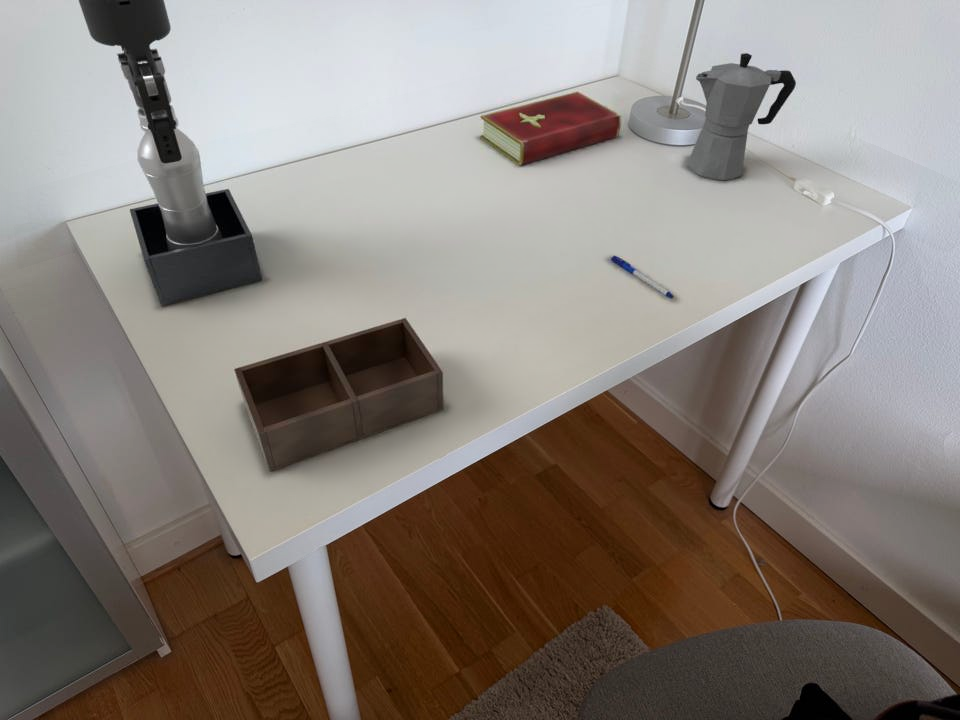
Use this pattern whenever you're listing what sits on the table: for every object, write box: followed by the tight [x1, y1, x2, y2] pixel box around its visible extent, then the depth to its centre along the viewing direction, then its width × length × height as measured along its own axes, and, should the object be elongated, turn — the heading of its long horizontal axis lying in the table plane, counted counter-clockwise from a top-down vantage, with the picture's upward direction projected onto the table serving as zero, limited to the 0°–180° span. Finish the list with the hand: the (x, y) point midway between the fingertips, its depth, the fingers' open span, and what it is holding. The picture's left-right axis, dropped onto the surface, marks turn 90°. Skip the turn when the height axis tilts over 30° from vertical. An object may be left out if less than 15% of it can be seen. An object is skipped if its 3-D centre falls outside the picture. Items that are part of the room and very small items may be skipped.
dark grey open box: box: [129, 188, 263, 307], centre depth 86 cm, size 12×12×7 cm
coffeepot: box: [686, 52, 797, 181], centre depth 106 cm, size 15×9×18 cm, turn 93°
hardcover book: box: [479, 91, 622, 166], centre depth 117 cm, size 12×21×4 cm, turn 123°
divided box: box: [233, 317, 444, 472], centre depth 69 cm, size 18×9×5 cm, turn 118°
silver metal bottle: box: [136, 104, 223, 251], centre depth 81 cm, size 6×7×20 cm
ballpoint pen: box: [610, 255, 674, 299], centre depth 89 cm, size 10×1×1 cm, turn 39°
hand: (166, 148), depth 77 cm, fingers closed on silver metal bottle, 6 cm apart
